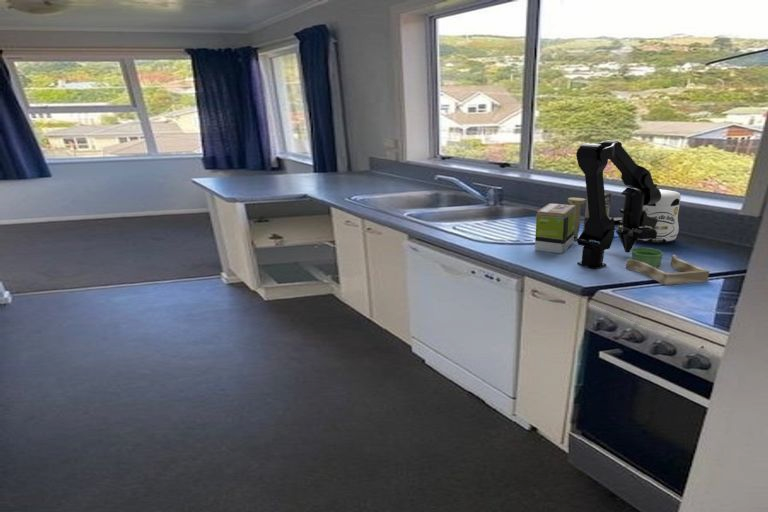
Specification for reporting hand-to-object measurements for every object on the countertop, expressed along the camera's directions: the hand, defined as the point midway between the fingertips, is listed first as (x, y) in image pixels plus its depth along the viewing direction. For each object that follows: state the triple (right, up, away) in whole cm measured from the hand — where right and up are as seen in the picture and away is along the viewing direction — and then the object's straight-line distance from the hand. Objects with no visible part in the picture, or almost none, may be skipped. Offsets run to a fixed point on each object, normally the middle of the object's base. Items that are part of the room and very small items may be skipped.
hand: (627, 252), depth 162 cm
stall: (+3, -7, -18) cm, 19 cm away
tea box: (-21, +2, +12) cm, 24 cm away
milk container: (+17, +5, +16) cm, 24 cm away
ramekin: (+1, -4, -9) cm, 10 cm away
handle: (-9, +6, +24) cm, 26 cm away
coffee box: (+1, +7, +27) cm, 28 cm away
